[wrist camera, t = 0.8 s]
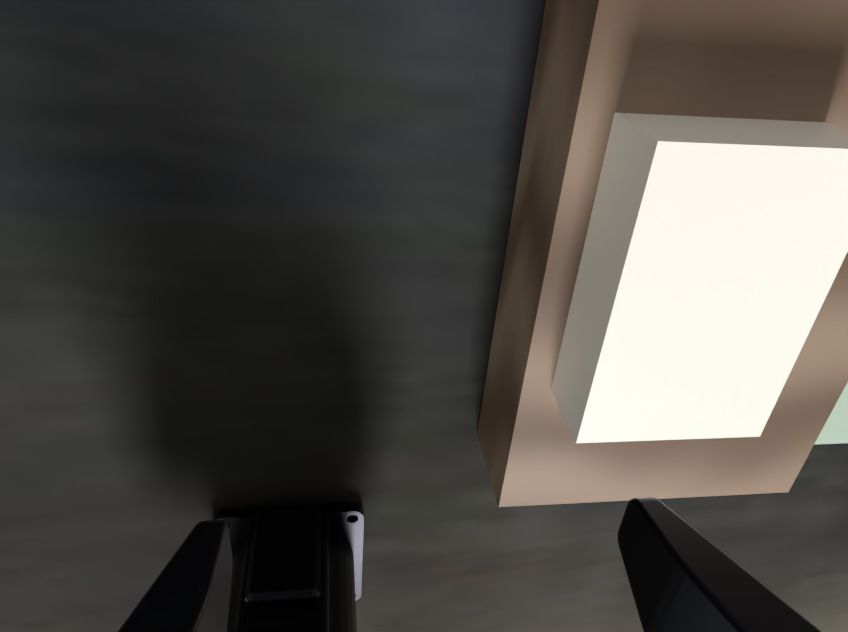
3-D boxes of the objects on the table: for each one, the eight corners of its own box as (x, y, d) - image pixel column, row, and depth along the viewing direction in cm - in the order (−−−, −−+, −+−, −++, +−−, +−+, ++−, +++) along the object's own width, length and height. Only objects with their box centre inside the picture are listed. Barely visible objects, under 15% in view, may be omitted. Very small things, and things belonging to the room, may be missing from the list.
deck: (734, 425, 29) (788, 492, 25) (477, 433, 27) (498, 507, 23) (964, -100, 18) (1110, -106, 15) (568, -144, 16) (630, -161, 13)
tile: (717, 386, 22) (759, 436, 19) (550, 390, 21) (576, 443, 19) (824, 122, 17) (895, 150, 15) (614, 112, 16) (658, 141, 14)
